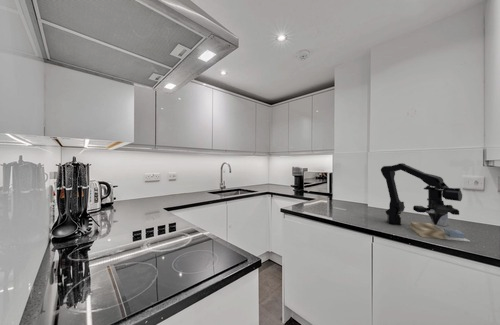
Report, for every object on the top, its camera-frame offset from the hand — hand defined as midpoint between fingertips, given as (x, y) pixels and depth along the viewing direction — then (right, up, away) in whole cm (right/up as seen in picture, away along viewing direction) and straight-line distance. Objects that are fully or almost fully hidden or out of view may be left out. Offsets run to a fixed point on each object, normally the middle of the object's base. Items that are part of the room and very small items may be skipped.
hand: (435, 224), depth 110 cm
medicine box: (+19, -5, +17) cm, 26 cm away
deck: (-4, -6, +2) cm, 7 cm away
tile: (+7, -3, -3) cm, 8 cm away
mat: (+6, -6, -2) cm, 9 cm away
